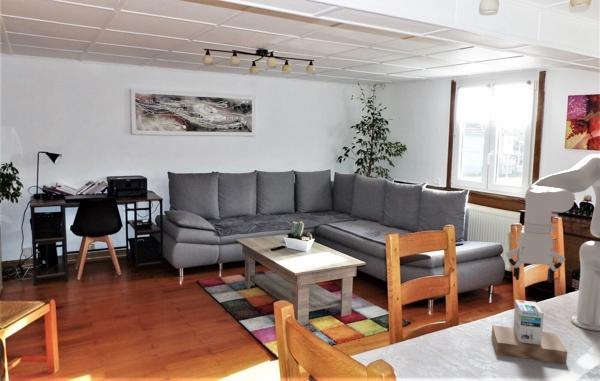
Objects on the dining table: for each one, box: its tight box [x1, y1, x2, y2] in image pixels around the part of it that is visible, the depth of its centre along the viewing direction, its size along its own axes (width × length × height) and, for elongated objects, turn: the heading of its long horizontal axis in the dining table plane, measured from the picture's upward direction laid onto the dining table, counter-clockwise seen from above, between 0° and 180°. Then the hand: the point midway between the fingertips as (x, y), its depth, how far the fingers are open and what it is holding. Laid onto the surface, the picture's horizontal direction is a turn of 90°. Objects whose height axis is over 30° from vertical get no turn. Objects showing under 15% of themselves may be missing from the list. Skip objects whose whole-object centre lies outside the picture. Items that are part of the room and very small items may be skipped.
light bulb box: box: [512, 299, 544, 345], centre depth 152 cm, size 11×7×11 cm, turn 166°
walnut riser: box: [491, 325, 568, 365], centre depth 153 cm, size 20×14×4 cm
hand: (533, 280), depth 150 cm, fingers open, 9 cm apart
